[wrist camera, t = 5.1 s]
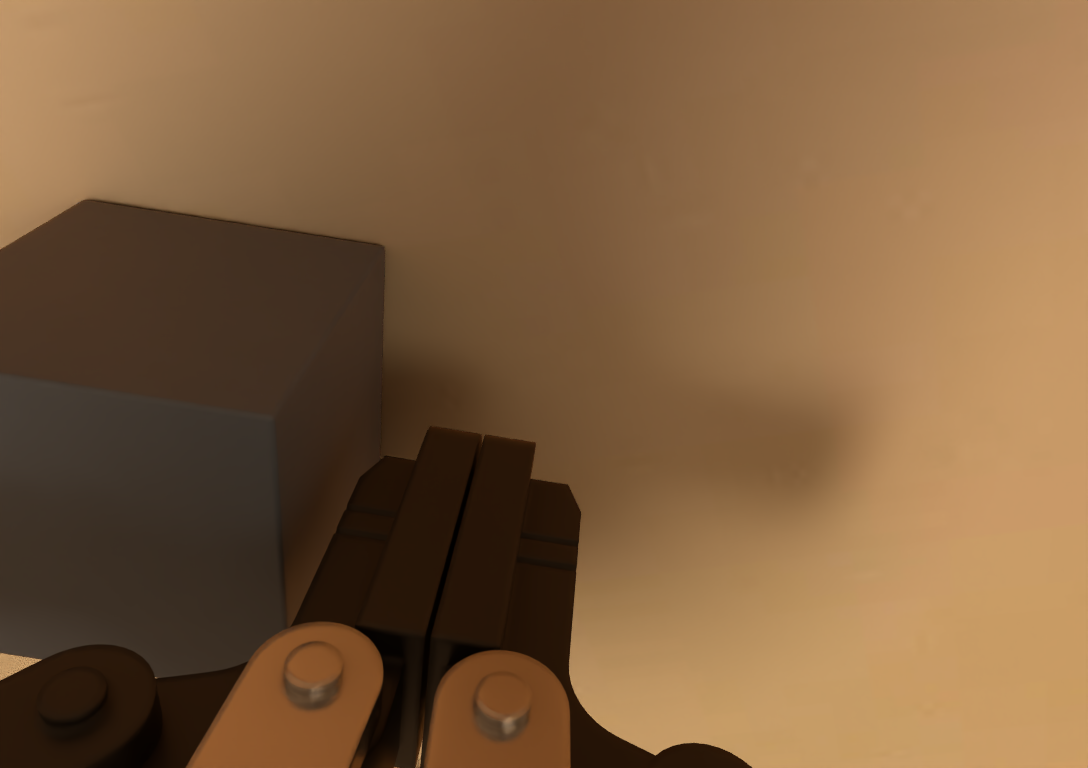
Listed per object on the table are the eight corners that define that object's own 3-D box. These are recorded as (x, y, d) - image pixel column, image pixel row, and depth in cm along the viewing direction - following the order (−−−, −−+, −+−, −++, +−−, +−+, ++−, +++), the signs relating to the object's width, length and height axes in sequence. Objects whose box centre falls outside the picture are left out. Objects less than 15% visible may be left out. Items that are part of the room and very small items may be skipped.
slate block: (83, 197, 12) (-173, 348, 8) (386, 245, 12) (273, 418, 8) (128, 442, 15) (-53, 647, 11) (380, 481, 15) (291, 701, 11)
